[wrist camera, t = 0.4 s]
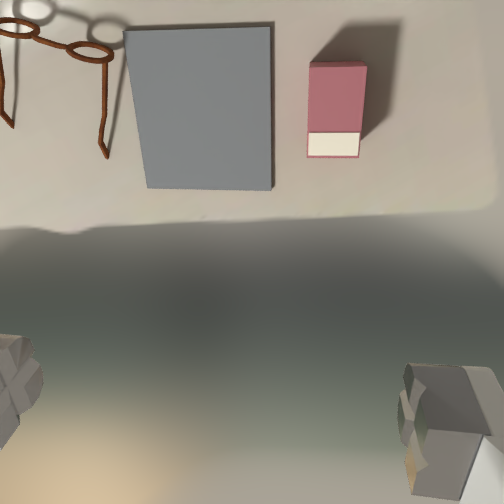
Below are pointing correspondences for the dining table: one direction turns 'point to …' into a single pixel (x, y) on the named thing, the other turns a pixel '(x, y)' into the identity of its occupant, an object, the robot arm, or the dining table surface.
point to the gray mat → (203, 106)
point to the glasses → (69, 49)
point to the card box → (335, 109)
